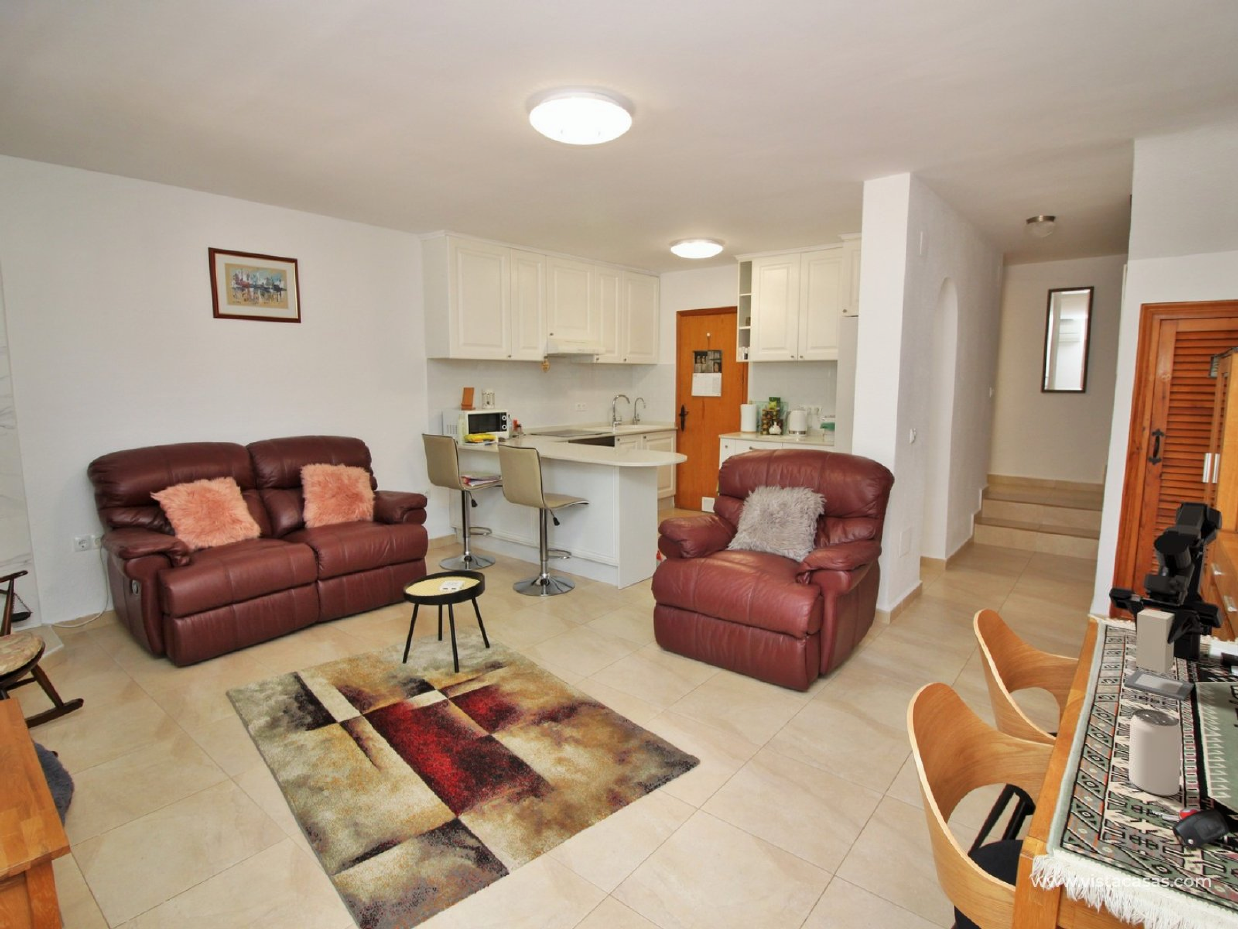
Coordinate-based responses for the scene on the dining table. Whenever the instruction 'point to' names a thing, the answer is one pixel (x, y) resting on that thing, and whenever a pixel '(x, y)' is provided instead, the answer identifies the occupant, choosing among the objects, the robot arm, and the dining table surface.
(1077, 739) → the dining table surface
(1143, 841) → the dining table surface
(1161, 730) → the can
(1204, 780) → the dining table surface
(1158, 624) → the cream block
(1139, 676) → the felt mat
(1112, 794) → the dining table surface
